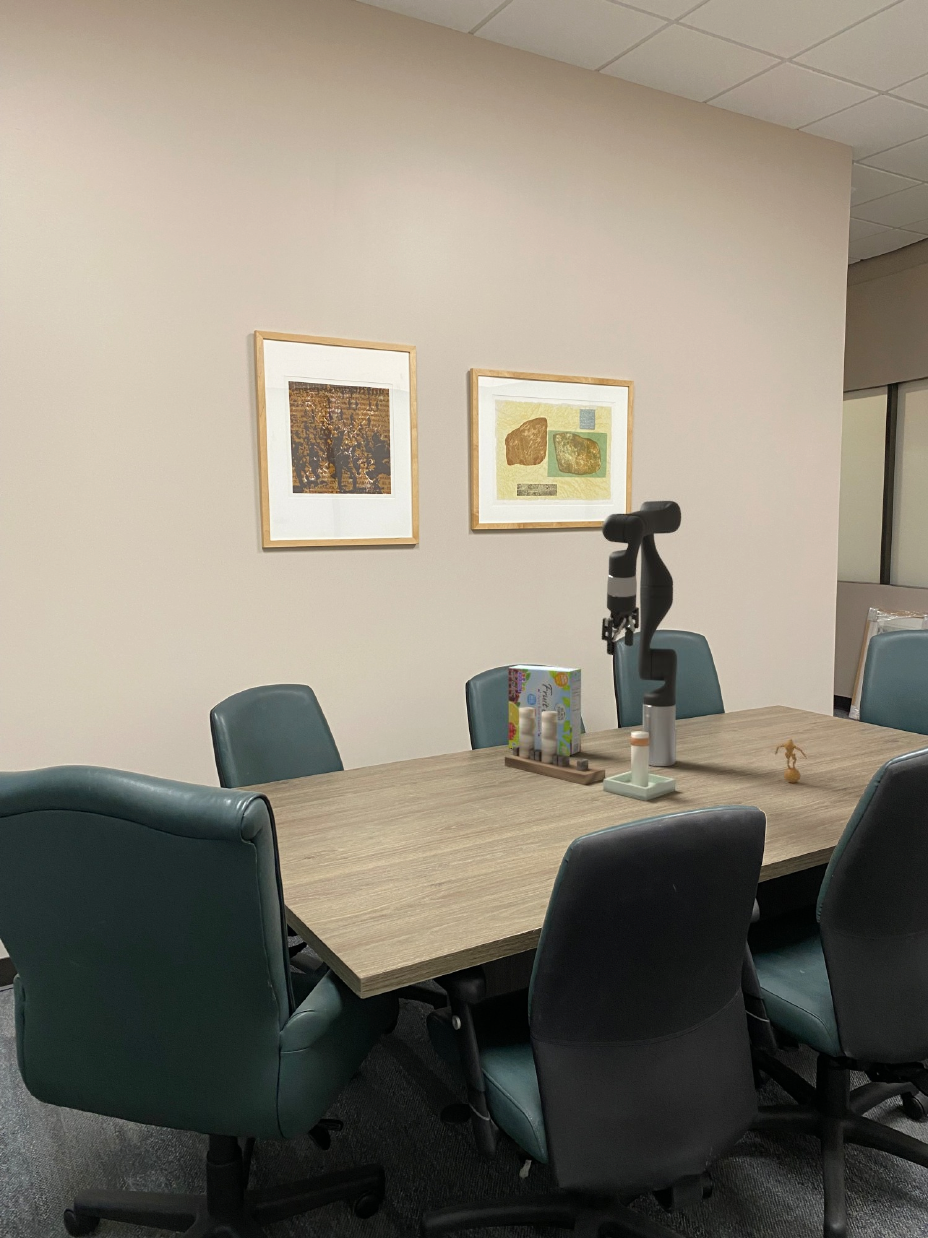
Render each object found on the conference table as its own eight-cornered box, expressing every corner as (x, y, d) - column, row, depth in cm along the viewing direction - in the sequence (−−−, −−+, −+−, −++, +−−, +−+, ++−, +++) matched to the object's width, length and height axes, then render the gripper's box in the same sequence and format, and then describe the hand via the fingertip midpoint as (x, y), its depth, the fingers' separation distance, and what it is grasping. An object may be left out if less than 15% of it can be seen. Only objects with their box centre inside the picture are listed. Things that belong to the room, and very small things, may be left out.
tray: (633, 781, 234) (633, 770, 234) (675, 790, 225) (675, 779, 224) (603, 790, 225) (603, 779, 225) (645, 801, 216) (646, 789, 215)
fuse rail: (525, 760, 258) (525, 704, 257) (605, 778, 237) (605, 718, 236) (504, 765, 252) (504, 708, 250) (584, 784, 231) (584, 722, 229)
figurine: (810, 783, 231) (811, 738, 230) (802, 788, 226) (803, 742, 225) (779, 778, 236) (780, 734, 235) (770, 783, 231) (771, 738, 230)
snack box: (582, 751, 268) (583, 668, 266) (570, 757, 261) (570, 671, 259) (520, 743, 280) (520, 663, 278) (507, 748, 273) (506, 666, 271)
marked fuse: (637, 783, 228) (637, 730, 227) (652, 786, 225) (652, 732, 224) (627, 786, 225) (627, 733, 224) (641, 790, 222) (642, 735, 221)
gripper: (624, 582, 234) (622, 639, 240) (594, 595, 224) (592, 654, 230) (648, 587, 230) (646, 645, 235) (619, 600, 220) (617, 660, 225)
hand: (620, 649), depth 232 cm, fingers open, 8 cm apart
